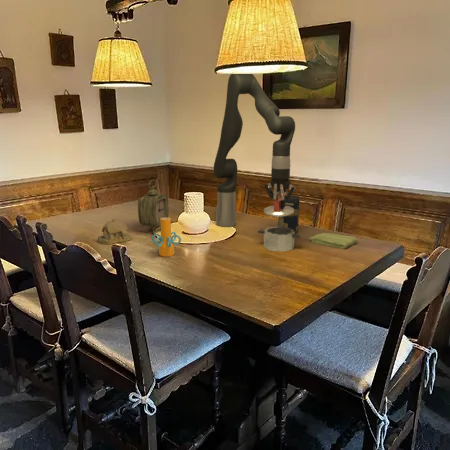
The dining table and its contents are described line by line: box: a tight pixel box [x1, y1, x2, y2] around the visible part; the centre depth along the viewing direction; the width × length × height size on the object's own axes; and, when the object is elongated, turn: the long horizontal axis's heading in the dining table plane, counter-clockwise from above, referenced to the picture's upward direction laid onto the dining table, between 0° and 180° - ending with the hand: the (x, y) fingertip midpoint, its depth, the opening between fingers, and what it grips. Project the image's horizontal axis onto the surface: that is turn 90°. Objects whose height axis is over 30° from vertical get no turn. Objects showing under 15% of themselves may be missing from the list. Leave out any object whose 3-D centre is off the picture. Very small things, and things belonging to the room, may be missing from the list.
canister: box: [277, 194, 300, 233], centre depth 203 cm, size 10×10×18 cm
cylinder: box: [151, 217, 182, 258], centre depth 171 cm, size 12×10×15 cm
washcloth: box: [309, 232, 358, 250], centre depth 188 cm, size 13×18×3 cm
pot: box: [257, 226, 302, 252], centre depth 182 cm, size 18×12×7 cm
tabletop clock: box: [137, 179, 169, 236], centre depth 203 cm, size 14×9×25 cm, turn 161°
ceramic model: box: [97, 218, 132, 245], centre depth 191 cm, size 14×11×10 cm
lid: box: [263, 196, 294, 218], centre depth 177 cm, size 12×12×6 cm
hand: (279, 208), depth 178 cm, fingers closed on lid
